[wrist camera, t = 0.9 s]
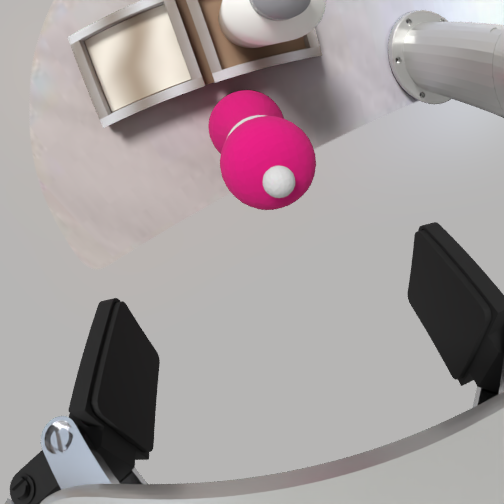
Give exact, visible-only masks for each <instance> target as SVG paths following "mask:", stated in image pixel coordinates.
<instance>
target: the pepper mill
mask: <svg viewBox="0 0 504 504" xmlns="http://www.w3.org/2000/svg"><path fill="white" fill-rule="evenodd" d="M209 134H210V137H211V140H212V142H213V144H214V146H215V148H216V149H217V150H218V152H219V153H220V154H221V158H220V168H221V173H222V177H223V179H224V182H225V184H226V186H227V187H228V189H229V191H230V192H231V193H232V194H233V195H234V196H235V197H236V198H237V199H239V200H240V201H241V202H242V203H244V204H247V205H248V206H251V207H254V208H257V209H262V210H273V209H278V208H282V207H285V206H288V205H290V204H292V203H293V202H295V201H296V200H298V199H299V198H300V197H301V196H302V195H303V194H304V193H305V192H306V191H307V190H308V188H309V186H310V185H311V183H312V180H313V177H314V173H315V167H316V161H315V153H314V150H313V146H312V144H311V142H310V140H309V138H308V137H307V136H306V134H305V133H304V132H303V131H302V130H301V129H300V128H299V127H297V126H296V125H295V124H294V123H292V122H290V121H288V120H286V119H284V118H283V115H282V112H281V110H280V109H279V107H278V106H277V104H276V103H275V102H274V101H273V100H272V99H271V98H269V97H268V96H266V95H265V94H263V93H260V92H257V91H252V90H242V91H237V92H233V93H231V94H229V95H227V96H226V97H224V98H223V99H222V100H220V101H219V102H218V103H217V105H216V106H215V107H214V109H213V111H212V113H211V116H210V119H209Z"/></svg>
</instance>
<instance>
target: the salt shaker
mask: <svg viewBox="0 0 504 504" xmlns="http://www.w3.org/2000/svg"><path fill="white" fill-rule="evenodd" d="M325 3H326V0H222V3H221V7H220V11H219V15H218V22H219V27H220V29H221V31H222V33H223V35H224V36H225V37H226V38H227V39H228V40H229V41H231V42H232V43H234V44H236V45H238V46H241V47H244V48H260V47H264V46H268V45H272V44H277V43H281V42H286V41H291V40H294V39H298V38H300V37H303V36H304V35H306V34H308V33H309V32H311V31H312V30H313V29H314V28H315V27H316V26H317V25H318V23H319V22H320V20H321V19H322V17H323V14H324V11H325Z"/></svg>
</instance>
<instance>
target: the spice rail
mask: <svg viewBox="0 0 504 504" xmlns="http://www.w3.org/2000/svg"><path fill="white" fill-rule="evenodd" d="M221 3H222V0H141V1H139V2H136V3H134V4H132V5H129V6H127V7H125V8H123V9H121V10H118V11H116V12H114V13H112V14H110V15H108V16H106V17H104V18H102V19H100V20H98V21H96V22H94V23H92V24H90V25H88V26H86V27H85V28H83V29H81V30H79V31H77V32H76V33H74V34H72V35H70V36H69V37H68V39H69V42H70V45H71V48H72V51H73V53H74V56H75V59H76V61H77V64H78V67H79V69H80V72H81V75H82V77H83V80H84V82H85V85H86V87H87V90H88V92H89V95H90V97H91V100H92V102H93V105H94V107H95V109H96V112H97V114H98V117H99V119H100V121H101V124H102V126H103V128H104V127H106V126H109V125H111V124H113V123H115V122H117V121H119V120H121V119H123V118H126V117H128V116H130V115H132V114H135V113H137V112H139V111H141V110H144V109H146V108H149V107H151V106H153V105H156V104H158V103H161V102H163V101H166V100H168V99H171V98H173V97H176V96H179V95H181V94H184V93H187V92H190V91H192V90H195V89H198V88H201V87H204V86H205V85H207V84H210V83H213V82H215V83H216V82H219V81H222V80H225V79H228V78H232V77H235V76H238V75H242V74H245V73H249V72H252V71H256V70H260V69H264V68H267V67H271V66H275V65H279V64H284V63H288V62H292V61H297V60H301V59H306V58H311V57H316V56H322V53H321V49H320V45H319V42H318V38H317V34H316V31H315V28H314V29H313V30H312V31H311V32H309V33H308V34H306V35H304V36H303V37H300V38H298V39H294V40H291V41H286V42H281V43H277V44H272V45H268V46H264V47H260V48H244V47H241V46H238V45H236V44H234V43H232V42H231V41H229V40H228V39H227V38H226V37H225V36H224V35H223V33H222V31H221V29H220V27H219V22H218V15H219V11H220V7H221Z"/></svg>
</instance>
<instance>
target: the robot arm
mask: <svg viewBox="0 0 504 504" xmlns="http://www.w3.org/2000/svg"><path fill="white" fill-rule="evenodd" d="M388 55H389V62H390V65H391V68H392V72H393V74H394V76H395V78H396V80H397V81H398V83H399V84H400V86H401V87H402V88H403V89H404V90H405V91H406V92H407V93H408V94H409V95H411V96H412V97H413V98H415V99H417V100H419V101H422V102H425V103H429V104H440V103H444V102H446V101H449V100H450V99H455V100H458V101H461V102H464V103H467V104H469V105H472V106H475V107H478V108H480V109H483V110H486V111H488V112H491V113H494V114H496V115H498V116H501V117H503V118H504V25H498V24H487V23H473V22H449V21H447V20H446V19H445V18H444V17H442V16H440V15H439V14H437V13H434V12H431V11H425V10H420V11H413V12H409V13H407V14H405V15H403V16H402V17H401V18H400V19H399V20H397V22H396V23H395V25H394V26H393V28H392V31H391V33H390V37H389V42H388ZM395 60H396V61H395ZM408 299H409V302H410V304H411V306H412V307H413V309H414V311H415V312H416V314H417V316H418V317H419V319H420V321H421V322H422V324H423V326H424V327H425V329H426V331H427V332H428V334H429V336H430V337H431V339H432V341H433V343H434V344H435V346H436V348H437V350H438V352H439V353H440V355H441V357H442V359H443V361H444V362H445V364H446V366H447V368H448V370H449V372H450V373H451V375H452V377H453V378H454V379H458V380H459V382H460V384H461V386H462V385H464V384H466V383H468V382H470V381H472V380H474V381H475V382H476V384H477V391H476V395H475V400H474V404H473V408H472V409H470V410H468V411H466V412H464V413H462V414H459V415H457V416H455V417H453V418H451V419H449V420H447V421H445V422H442V423H440V424H438V425H436V426H433V427H431V428H429V429H426V430H424V431H422V432H419V433H417V434H414V435H412V436H409V437H407V438H404V439H401V440H399V441H396V442H393V443H390V444H388V445H385V446H382V447H379V448H376V449H373V450H370V451H367V452H363V453H360V454H357V455H353V456H351V457H347V458H343V459H339V460H336V461H332V462H328V463H324V464H320V465H316V466H311V467H307V468H302V469H298V470H293V471H288V472H282V473H277V474H271V475H265V476H259V477H252V478H245V479H237V480H227V481H217V482H205V483H187V484H150V485H149V484H147V482H146V481H145V480H144V479H143V477H142V476H141V475H140V474H139V472H138V471H137V470H136V469H135V467H134V465H135V460H138V459H139V460H140V459H142V460H143V459H149V452H150V451H152V449H153V443H154V424H155V410H156V395H157V384H158V372H159V356H158V354H157V352H156V350H155V349H154V347H153V346H152V344H151V343H150V341H149V340H148V338H147V337H146V335H145V334H144V332H143V331H142V329H141V328H140V326H139V325H138V323H137V321H136V320H135V318H134V317H133V315H132V313H131V312H130V310H129V309H128V307H127V305H126V304H125V303H124V302H120V300H118V299H117V298H114V299H110V300H105V301H101V302H100V303H99V305H98V308H97V311H96V314H95V317H94V320H93V323H92V326H91V329H90V333H89V336H88V339H87V343H86V346H85V349H84V353H83V356H82V360H81V363H80V367H79V371H78V374H77V378H76V382H75V386H74V390H73V394H72V398H71V402H70V407H69V412H70V415H69V418H68V417H66V416H59V417H55V418H54V419H52V420H51V421H50V422H49V423H48V424H47V425H46V426H45V428H44V430H43V432H42V435H41V446H42V451H41V452H40V453H39V454H38V455H36V456H35V457H34V458H33V459H32V460H31V461H30V462H29V463H28V464H27V465H26V466H24V467H23V468H22V469H21V470H20V471H19V472H18V473H17V474H16V475H15V476H14V477H13V480H12V482H11V485H10V495H11V498H12V500H10V499H7V501H6V503H5V504H504V295H503V294H502V293H501V291H500V290H499V289H498V288H497V287H496V285H495V284H494V283H493V282H492V281H491V280H490V278H489V277H488V276H487V275H486V274H485V272H483V270H482V269H481V268H480V267H479V266H478V265H477V264H476V262H475V261H474V260H473V259H472V258H471V257H470V256H469V255H468V254H467V253H466V251H465V250H464V249H463V248H462V247H461V246H460V245H459V244H458V243H457V242H456V241H455V240H454V239H453V238H452V237H451V236H450V235H449V234H448V233H447V232H446V231H445V230H444V229H443V228H442V227H441V226H440V225H439V224H438V223H430V224H426V225H423V226H420V228H419V231H418V232H416V233H415V239H414V249H413V258H412V266H411V274H410V282H409V288H408Z"/></svg>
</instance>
